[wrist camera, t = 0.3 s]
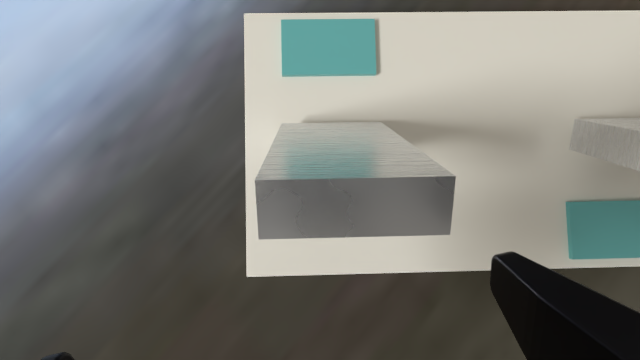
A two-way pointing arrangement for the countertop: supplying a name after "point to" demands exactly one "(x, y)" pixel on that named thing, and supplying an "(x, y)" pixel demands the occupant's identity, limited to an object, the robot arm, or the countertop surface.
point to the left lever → (350, 184)
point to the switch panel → (458, 129)
